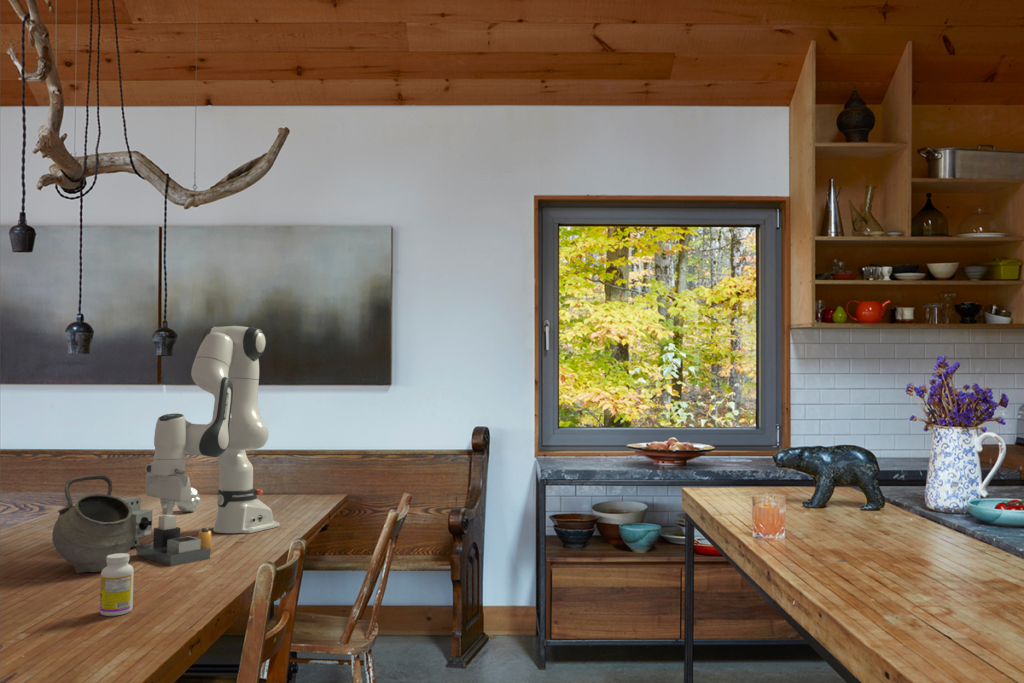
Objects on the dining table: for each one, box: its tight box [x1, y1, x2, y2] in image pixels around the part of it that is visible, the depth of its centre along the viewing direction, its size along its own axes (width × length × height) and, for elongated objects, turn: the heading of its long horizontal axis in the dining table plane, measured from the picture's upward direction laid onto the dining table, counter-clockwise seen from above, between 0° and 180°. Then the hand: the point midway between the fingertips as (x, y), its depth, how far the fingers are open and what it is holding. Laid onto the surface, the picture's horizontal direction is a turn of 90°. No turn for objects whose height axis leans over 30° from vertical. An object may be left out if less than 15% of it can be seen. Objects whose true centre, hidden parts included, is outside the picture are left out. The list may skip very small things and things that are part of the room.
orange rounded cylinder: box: [198, 527, 212, 552], centre depth 234 cm, size 4×4×7 cm
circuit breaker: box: [117, 496, 153, 548], centre depth 237 cm, size 8×14×15 cm, turn 78°
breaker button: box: [157, 514, 177, 530], centre depth 229 cm, size 4×4×5 cm
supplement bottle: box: [99, 552, 135, 617], centre depth 173 cm, size 7×7×13 cm
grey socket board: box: [136, 526, 211, 567], centre depth 226 cm, size 12×20×8 cm, turn 52°
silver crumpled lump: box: [175, 486, 202, 513], centre depth 299 cm, size 9×10×10 cm
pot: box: [51, 474, 136, 574], centre depth 213 cm, size 21×21×25 cm
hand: (167, 514), depth 229 cm, fingers closed
